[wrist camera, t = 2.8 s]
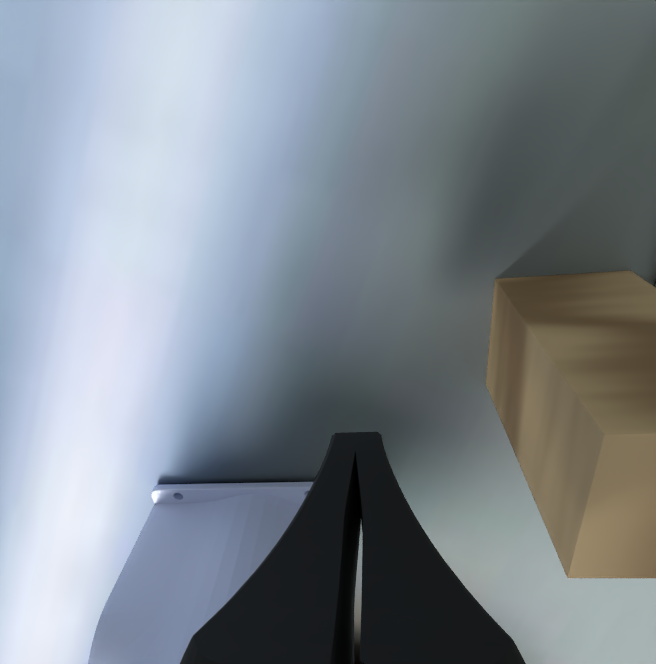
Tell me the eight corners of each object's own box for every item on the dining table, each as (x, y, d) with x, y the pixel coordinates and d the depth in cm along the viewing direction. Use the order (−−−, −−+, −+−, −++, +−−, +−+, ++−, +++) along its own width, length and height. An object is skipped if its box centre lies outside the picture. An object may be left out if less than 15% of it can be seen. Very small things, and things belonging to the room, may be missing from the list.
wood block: (485, 383, 20) (567, 578, 12) (495, 278, 18) (604, 434, 10) (604, 379, 19) (770, 578, 12) (630, 270, 17) (861, 427, 9)
